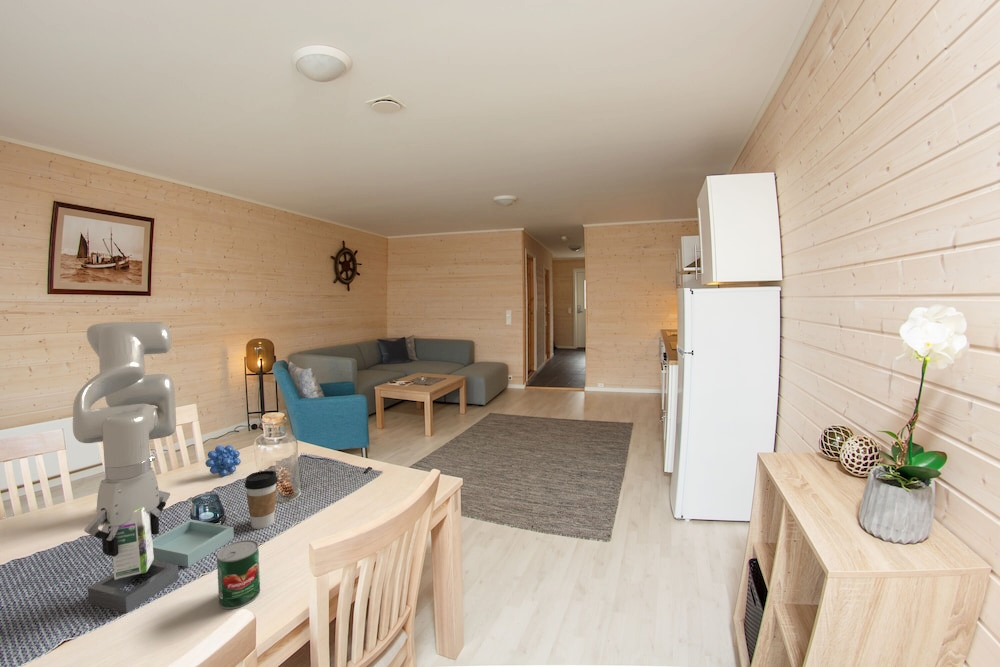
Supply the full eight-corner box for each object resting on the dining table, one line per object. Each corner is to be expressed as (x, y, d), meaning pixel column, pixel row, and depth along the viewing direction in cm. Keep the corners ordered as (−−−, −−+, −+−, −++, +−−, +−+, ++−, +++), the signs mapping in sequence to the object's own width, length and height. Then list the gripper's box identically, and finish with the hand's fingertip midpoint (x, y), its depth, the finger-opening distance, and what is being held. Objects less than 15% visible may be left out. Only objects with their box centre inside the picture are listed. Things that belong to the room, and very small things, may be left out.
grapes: (211, 484, 148) (210, 451, 147) (203, 479, 152) (202, 447, 151) (246, 473, 158) (245, 442, 157) (237, 469, 161) (236, 439, 160)
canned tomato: (244, 580, 98) (243, 536, 97) (268, 590, 95) (266, 544, 94) (210, 603, 91) (208, 555, 90) (234, 614, 88) (232, 564, 87)
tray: (142, 557, 106) (141, 545, 106) (191, 530, 119) (190, 519, 119) (188, 567, 103) (187, 554, 102) (233, 538, 115) (233, 527, 115)
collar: (88, 603, 90) (87, 587, 90) (143, 571, 101) (142, 557, 101) (126, 613, 88) (125, 597, 87) (178, 579, 98) (177, 565, 98)
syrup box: (113, 581, 90) (107, 516, 89) (123, 566, 96) (118, 504, 95) (146, 573, 93) (141, 509, 92) (154, 558, 98) (150, 499, 97)
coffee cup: (264, 533, 118) (262, 481, 117) (239, 529, 120) (237, 478, 119) (285, 518, 126) (284, 470, 125) (261, 514, 128) (259, 467, 127)
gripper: (156, 452, 101) (159, 520, 103) (67, 483, 85) (73, 564, 86) (180, 456, 100) (183, 525, 101) (94, 488, 83) (99, 571, 85)
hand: (132, 543), depth 94 cm, fingers closed on syrup box, 7 cm apart
